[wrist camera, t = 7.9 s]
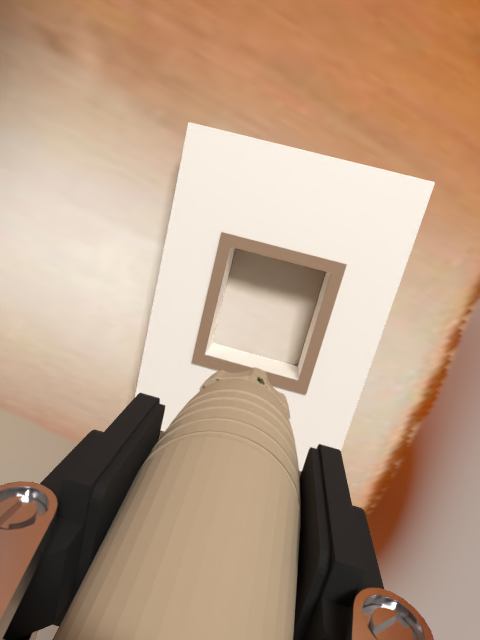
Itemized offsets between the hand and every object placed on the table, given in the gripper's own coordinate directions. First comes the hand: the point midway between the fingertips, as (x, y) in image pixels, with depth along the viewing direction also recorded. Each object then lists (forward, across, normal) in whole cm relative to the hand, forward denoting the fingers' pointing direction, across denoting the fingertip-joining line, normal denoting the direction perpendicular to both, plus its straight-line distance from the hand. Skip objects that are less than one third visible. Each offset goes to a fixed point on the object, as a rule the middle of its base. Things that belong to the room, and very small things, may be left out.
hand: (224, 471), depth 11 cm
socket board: (+22, 0, 0) cm, 22 cm away
